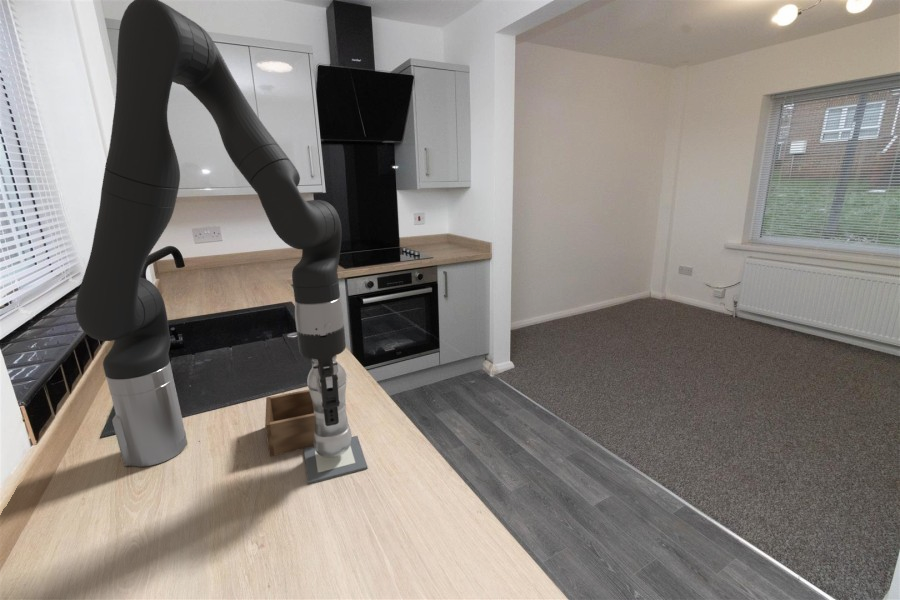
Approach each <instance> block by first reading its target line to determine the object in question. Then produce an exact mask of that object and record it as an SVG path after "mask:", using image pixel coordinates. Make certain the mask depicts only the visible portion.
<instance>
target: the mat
mask: <svg viewBox="0 0 900 600" xmlns="http://www.w3.org/2000/svg"><path fill="white" fill-rule="evenodd" d="M303 450H304V459H305V460H304V461H305V470H306V478H307V485H310V484H311V485H312V484H315V483H317V482H318V483H319V482H322V481H326V480H330V479H333V478H337V477H340V476H345V475H349V474H352V473H357V472H359V471H364V470H367V469H369V468H368V464H367V461H366V458H365V455H364V452H363V448H362V446H361V443H360V440H359V436H358V435H354V436H352V438H351V445H350V446H349V448H348V450H347V451H346V452H345V453H343V454H342V455H340V456H337V457H333V458H325V457H322V456H320V455H319V454H318V453H317V452H316V450H315V447H314V446H311V447H307V448H304V449H303Z"/></svg>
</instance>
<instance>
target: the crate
mask: <svg viewBox="0 0 900 600" xmlns="http://www.w3.org/2000/svg"><path fill="white" fill-rule="evenodd" d="M265 401H266V402H265V417H264V418H265V421H264V425H265V426H264V427H265V433H266V434H265V435H266V439H267V446H268V452H269V457H272V456H277V455H282V454H286V453H291V452H294V451H298V450H304V448H307V447H311V446H314V444H313V440H314V431H315V420H314V408H313V403H312V398H311V395H310V391H309V389H304V390H298V391H294V392H289V393H288V392H287V393H283V394H278V395H277V394H276V395H273V396H267V397H266V398H265Z"/></svg>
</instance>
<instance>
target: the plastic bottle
mask: <svg viewBox="0 0 900 600" xmlns="http://www.w3.org/2000/svg"><path fill="white" fill-rule="evenodd" d="M337 356H338V355H336V356H334V357H333V358H332V360H333V363H336V362H337V364H338V373H337V375H338V383H339V389H338V396H339V401H340V404H339V406H338V407H337V408H338V418H339V423H338V424H336V425H331V426H326V425H325V418H324V409H323V407H322V403H321V402H322V397H321V393H319V392H318V390H317V381H316V377H315V376H314V372H313V367H312V366H311V369H310V370H309V373H308V375H307V379H306V383H307V387H308V390H309V391H310V395H311V398H312V403H313V408H314V420H315V431H314V440H313V444H314V447H315V450H316V452H317V453H318V454H319V455H320V456H322V457H325V458H333V457H337V456H340V455H342V454H343V453H345V452H346V451H347V450H348V448H349V446H350V445H351V438H352V437H353V435H352V431H351V430H352V429H351V426H350V424H349V421H348V414H347V409H346V408H347V407H346V390H347V373H346V372H347V371H346V370H345V368H344V367H343V366H342V365H341V364H340V362H338V361H337V360H335V359H337ZM312 360H313V362H314V363H315V364H314V365H313V366H318V360H317V359H312ZM334 375H335V374H334ZM319 382H320V374H319ZM320 386H321V383H320ZM330 398H334V396H331V397H327V398H326V399H330Z"/></svg>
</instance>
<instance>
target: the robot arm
mask: <svg viewBox="0 0 900 600" xmlns="http://www.w3.org/2000/svg"><path fill="white" fill-rule="evenodd" d="M117 40H118V41H117V53H116V54H117V56H116V57H117V60H116V85H115V86H116V87H115V89H116V90H115V100H114V101H115V102H114V109H113V110H114V111H113V119H112V126H111V135H110V141H109V146H108V151H107V152H108V153H107V158H106V162H105V166H104V167H105V168H104V172H103V177H102V178H103V179H102V184H101V191H100V200H99V201H100V202H99V208H98V213H97V219H96V222H95V223H96V224H95V228H94V234H93V240H92V245H91V250H90V255H89V258H88V261H87V265H86V268H85V271H84V275H83V277H82V281H81V284H80V287H79V290H78V292H77V293H78V294H77V295H76V296H77V298H76V301H75V316H76V320H77V322H78V325H79V327H80V328H81V330H82V331H83V332H84V333H85V334H86V335H88V336H89V337H90V338H91V339H94V340H96V341H101V342H112V341H113V344H112V346H111V348H110V350H109V351H108V353H107V354H106V355H105V357H104V359H103V362H102V367H103V372H104V374H105V377H106V378H105V379H106V381H107V385H108V389H109V393H110V396H111V401H112V404H113V408H114V412H115V415H114V416H113V418H112V421H111V422H112V425H113V429H114V434H115V437H116V440H117V445H118V448H119V451H120V455H121V459H122V462H123V465H124V467H129V466H134V467H141V468H143V467H150V466H155V465H158V464H161V463H164V462H166V461H168V460H171V459H173V458H174V457H176V456H178V455H179V454H181V452H183V451H184V450H185V448H186V447H187V445H188V439H187V433H186V429H185V425H184V421H183V416H182V411H181V407H180V402H179V398H178V393H177V390H176V384H175V380H174V375H173V371H172V370H173V369H172V365H171V361H170V357H169V354H170V353H169V352H170V348H171V335H170V334H171V332H170V328H169V327H170V326H169V321H168V314H167V309H166V304H165V301H164V298H163V296H162V293H161V292H160V289H158V288H157V286H156V285H155V284H154V283H153V282H152V281H150V280H149V279H147V278H144V277H141V275H142V271H143V268H144V265H145V263H146V261H147V259H148V257H149V255H150V254H151V252H152V250H153V249H154V247H155V246H156V244H158V243H157V242H158V241H159V240H160V238H161V236H162V235H163V233H164V232H165V230H166V229H167V227H168V225H169V223H170V221H171V219H172V217H173V214H174V210H175V206H176V202H177V198H178V193H179V188H180V182H181V181H180V180H181V170H180V164H179V160H178V156H177V153H176V149H175V147H174V143H173V138H172V136H171V132H170V129H169V122H168V107H169V101H170V95H171V89H172V85H173V83H175V84H176V85H181V86H183V87H184V88H185V89H187V90H188V91H189V92H190V93H191V94H192V95H193V96H194V97H195V98H196V99H197V100H198V101H199V102H200V103H201V104H202V105H203V106H204V108H205V109H206V110H207V111H208V112H209V114H210V115H211V117H212V118H213V121H214V122H215V124H216V127H217V130H218V132H219V135H220V138H221V141H222V145H223V147H224V149H225V150H226V152H227V153H226V154H227V155H228V156H229V158H230V160H231V162H232V163H233V164H234V166H235V167H236V168H237V170H238V171H239V172H240V174H241V175H242V176H243V177H244V178H245V181H246V182H247V183H248V184H249V185H250V187H251V188H252V189H253V190H254V191H255V193H256V194H257V196H258V199H259V202H260V203H261V206H262V208H263V210H264V212H265V215H266V217H267V218H268V219H267V220H268V222H269V224H270V226H271V228H272V229H273V230H274V232H275V234H276V235H277V236H278V238H279V239H280V240H282V241H283V242H284V243H285V244H286V245H288V246H289V247H290V248H293V249H295V250H301V251H302V253H301V259H300V260H299V262H298V263H296V264H295V265H294V267H293V268H292V270H291V271H292V272H291V277H292V278H291V280H292V287H293V289H292V290H293V297H294V298H293V299H294V319H295V320H294V321H295V328H296V335H297V343H298V350H299V354H300V355H301V356H302V357H303V358H306V359H308V360H309V359H310V360H311V368H312V367H313V372H314V376H315V377H316V381H317V390H318V392H319V393H321V397H322V402H321V403H322V407H323V409H324V418H325V425H326V426H331V425H336V424H338V423H339V418H338V408H337V407H338V406H339V404H340V401H339V396H338V389H339V383H338V375H337V373H338V364H337V362H338V361H337V360H336V359H337V358H336V359H335V360H336V361H337V362H336V363H333V360H332V358H333V357H334V356H336V355H337V356H338V355H340V354H341V353H344V351H345V349H346V347H347V344H346V334H345V322H344V321H345V320H344V311H343V305H342V302H341V301H342V300H341V293H340V283H339V275H338V269H339V263H340V256H341V248H342V236H343V235H342V234H343V232H342V231H343V230H342V223H341V219H340V215H339V214H338V211H337V209H336V208H335V207H334V206H333V205H332V204H330V202H327V201H325V200H322V199H313V200H312V199H310V200H306V199H305V198H304V197H303V195H302V194H301V191H300V190H299V189H298V186H299V184H300V182H301V176H300V173H299V171H298V169H297V167H296V166H295V165H294V163H293V162H292V160H290V158H289V157H288V155H287V154H286V152H284V150H283V148H282V147H281V146H280V145H279V144H278V143H277V141H276V139H275V138H274V137H273V136H272V134H271V133H270V132H269V131H268V129H267V128H266V126H265V125H264V124H263V122H262V121H261V119H260V118H259V117H258V115H257V114H256V113H255V111H254V109H253V108H252V106H251V105H250V103H249V102H248V99H246V97H245V95H244V93H243V92H242V90H241V87H239V85H238V84H237V82H236V80H235V78H234V77H233V74H232V72H231V71H230V69H229V67H228V65H227V63H226V61H225V59H224V58H223V56H222V54H221V52H220V50H219V48H218V47H217V45H216V44H215V42H214V40H213V38H212V37H211V36H210V34H209V33H208V32H207V31H206V29H204V28H203V27H202V26H201V25H199V24H198V23H197V22H195V21H193V20H192V19H190V18H188V17H187V16H186V15H184V14H183V13H180V12H179V11H177V10H175V9H174V8H173V7H171V6H169V5H168V4H167V3H165V2H163V1H162V0H133V1H132V2H130V3H129V4H128V6H127V7H126V9H125V10H124V13H123V15H122V18H121V21H120V25H119V31H118V39H117ZM313 359H317V360H318V366H313V365H314V364H315V363H314V362H313ZM319 374H320V382H319ZM334 374H335V375H334ZM320 383H321V386H320ZM331 396H334V398H330V399H326V398H327V397H331Z"/></svg>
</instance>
